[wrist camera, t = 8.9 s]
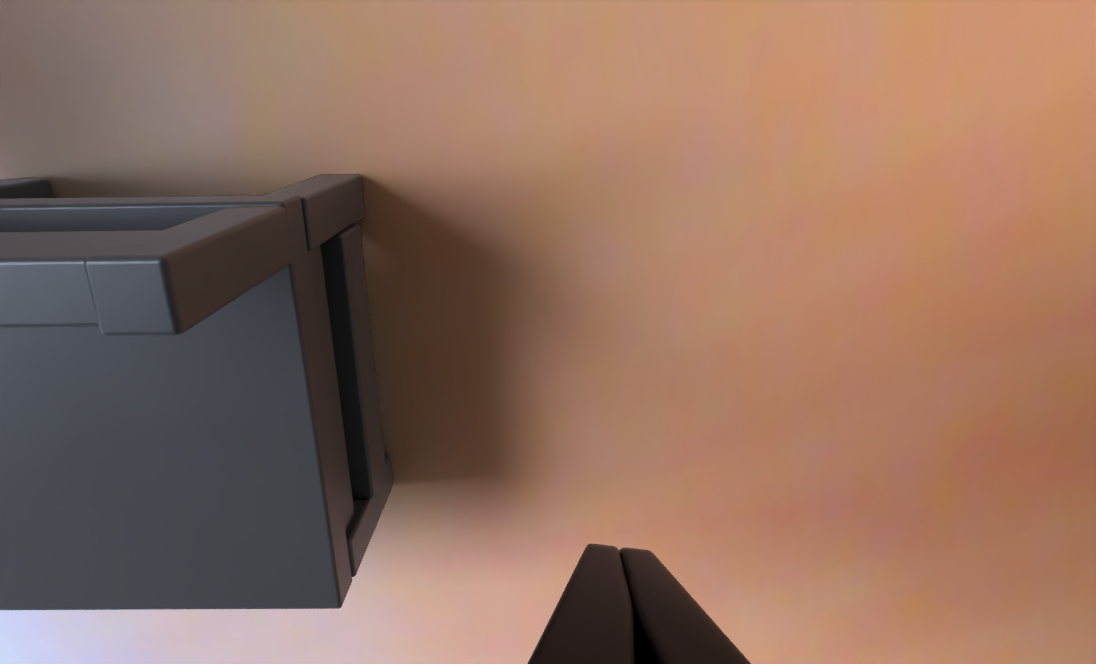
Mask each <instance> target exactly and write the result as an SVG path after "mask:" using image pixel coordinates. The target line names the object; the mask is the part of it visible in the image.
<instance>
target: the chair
mask: <svg viewBox="0 0 1096 664" xmlns="http://www.w3.org/2000/svg"><path fill="white" fill-rule="evenodd" d="M364 216H365V208H364V198H363V189H362V179H361V175H359V174H321V175H318V176H315V177H312V178H309V179H306V180H304V181H301V182H298V183H295V184H292V185H289V186H286V187H284V188H281V189H278V190H275V191H272V192H269V193H266V194H264V195H242V196H168V197H95V198H52V195H51V191H50V188H49V184H48V181H47V180H46V179H43V178H33V179H3V180H0V610H119V609H324V608H341V607H342V604H343V602H344V599H345V597H346V595H347V592H348V590H349V587H350V585H351V582H352V577H354V576H355V575H356V573H357V571H358V568H359V566H360V563H361V561H362V559H363V556H364V554H365V551H366V549H367V546H368V544H369V542H370V539H371V537H372V534H373V532H374V530H375V527H376V525H377V522H378V520H379V517H380V515H381V513H382V510H383V508H384V505H385V503H386V500H387V498H388V496H389V493H390V491H391V488H392V486H393V479H392V469H391V460H390V456H389V455H385V454H384V445H383V435H382V426H381V417H380V408H379V398H378V389H377V380H376V370H375V361H374V352H373V342H372V333H371V324H370V314H369V305H368V296H367V286H366V277H365V268H364V258H363V249H362V240H361V230H360V226H359V225H357V224H353V223H355V222H356V221H358V220H359V219H361V218H363V217H364Z"/></svg>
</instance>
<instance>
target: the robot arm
mask: <svg viewBox="0 0 1096 664" xmlns="http://www.w3.org/2000/svg"><path fill="white" fill-rule="evenodd" d="M528 664H751V663H750V662H749V661H748V660H747V659H746V658H745V656H744V655H743V654H742V653H741V652H740V651H739V650H738V649H737V647H736V646H735V645H734V644H733V643H732V642H731V641H730V640H729V638H728V637H727V636H726V635H725V634H724V633H723V632H722V631H721V629H720V628H719V627H718V626H717V625H716V624H715V623H714V621H713V620H712V619H711V618H710V617H709V616H708V615H707V614H706V612H705V611H704V610H703V609H702V608H701V607H700V606H699V605H698V603H697V602H696V601H695V600H694V599H693V598H692V597H691V596H690V594H689V593H688V592H687V591H686V590H685V589H684V588H683V586H682V585H681V584H680V583H679V582H678V581H677V580H676V579H675V577H674V576H673V575H672V574H671V573H670V572H669V571H668V570H667V568H666V567H665V566H664V565H663V564H662V563H661V562H660V561H659V559H658V558H657V557H656V556H655V555H654V554H653V553H652V552H651V551H649V550H642V549H634V548H621V549H620V550H618V548H616V547H614V546H608V545H599V544H589V545H587V546H586V548H585V550H584V552H583V554H582V556H581V558H580V560H579V562H578V564H577V566H576V568H575V570H574V572H573V574H572V576H571V578H570V580H569V582H568V584H567V586H566V588H565V590H564V592H563V594H562V596H561V598H560V600H559V602H558V604H557V606H556V608H555V610H554V612H553V614H552V616H551V618H550V620H549V622H548V624H547V626H546V628H545V630H544V632H543V634H542V636H541V638H540V640H539V642H538V644H537V646H536V648H535V650H534V652H533V654H532V656H531V658H530V660H529V662H528Z"/></svg>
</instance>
